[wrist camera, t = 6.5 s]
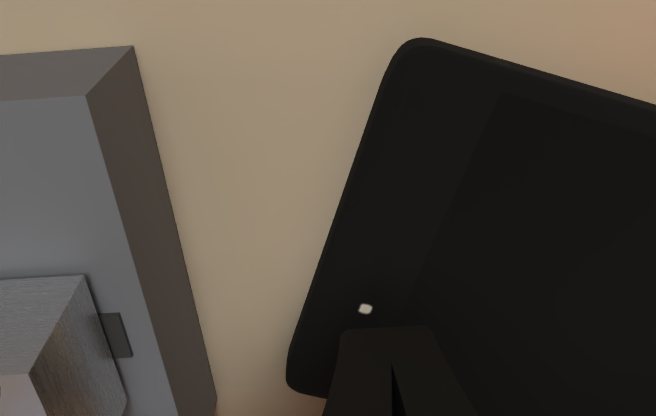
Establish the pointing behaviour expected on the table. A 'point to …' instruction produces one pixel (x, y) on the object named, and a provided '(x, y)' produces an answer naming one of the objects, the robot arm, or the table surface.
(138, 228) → the switch panel
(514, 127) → the cell phone
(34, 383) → the toggle knob
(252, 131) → the table surface
